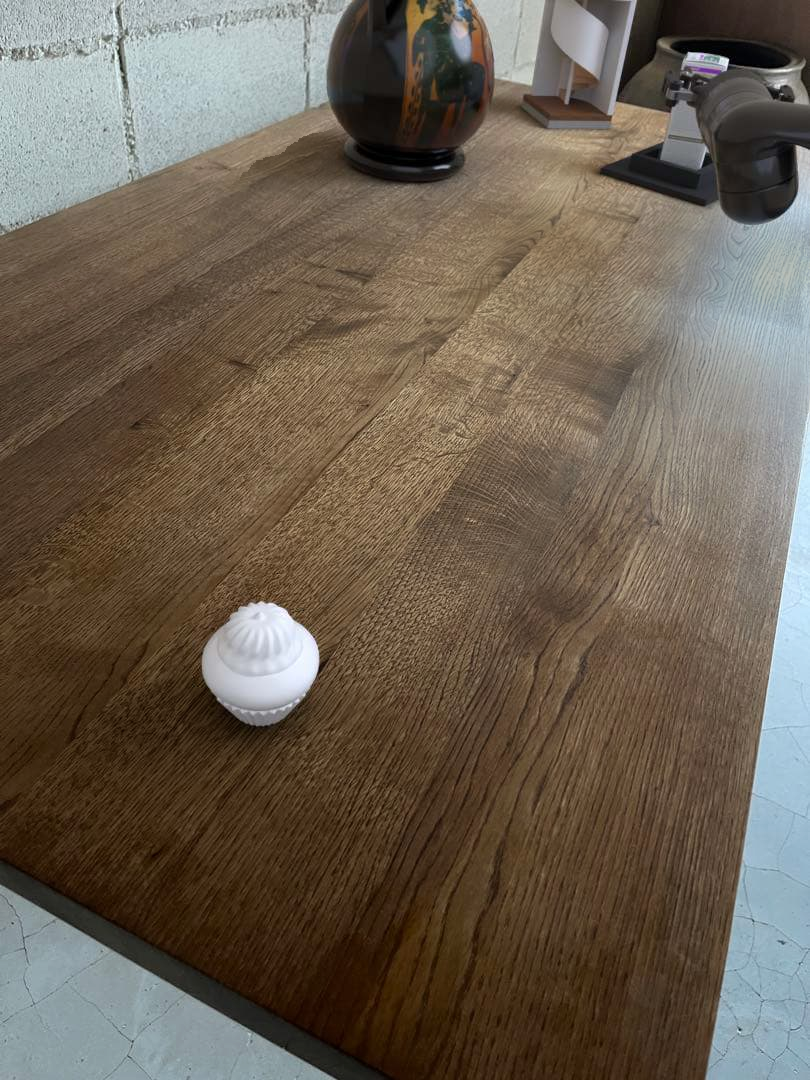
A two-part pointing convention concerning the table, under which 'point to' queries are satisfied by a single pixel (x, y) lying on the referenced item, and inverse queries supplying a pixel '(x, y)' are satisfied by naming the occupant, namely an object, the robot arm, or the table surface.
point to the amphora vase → (410, 85)
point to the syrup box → (689, 117)
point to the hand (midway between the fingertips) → (720, 80)
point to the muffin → (260, 663)
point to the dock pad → (667, 175)
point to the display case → (579, 62)
